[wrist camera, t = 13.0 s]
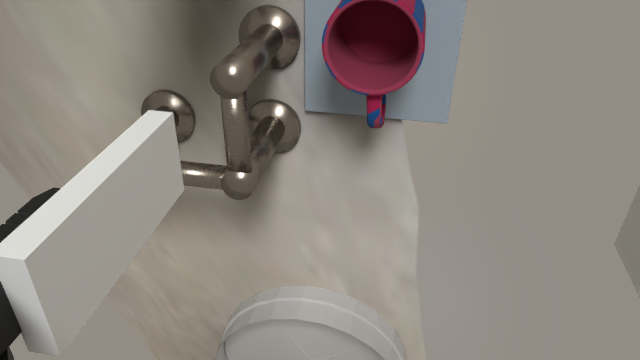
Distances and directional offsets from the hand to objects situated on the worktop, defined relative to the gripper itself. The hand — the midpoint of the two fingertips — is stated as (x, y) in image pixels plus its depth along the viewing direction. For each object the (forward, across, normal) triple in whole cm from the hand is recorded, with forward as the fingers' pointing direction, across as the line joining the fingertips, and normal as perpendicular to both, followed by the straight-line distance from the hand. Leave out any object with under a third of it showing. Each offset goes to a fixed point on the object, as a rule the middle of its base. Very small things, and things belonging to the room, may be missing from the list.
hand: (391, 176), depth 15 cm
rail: (+27, -16, -9) cm, 33 cm away
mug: (+27, -2, -4) cm, 27 cm away
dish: (+28, -7, -43) cm, 51 cm away
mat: (+27, -2, -5) cm, 28 cm away
